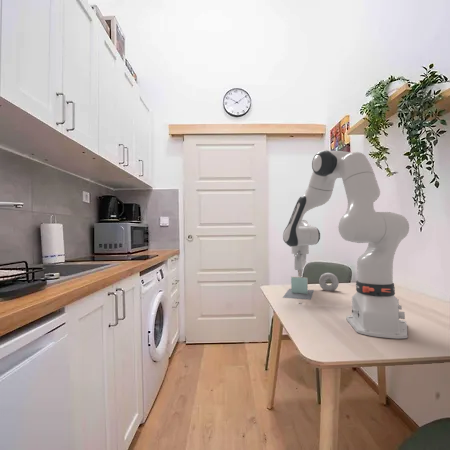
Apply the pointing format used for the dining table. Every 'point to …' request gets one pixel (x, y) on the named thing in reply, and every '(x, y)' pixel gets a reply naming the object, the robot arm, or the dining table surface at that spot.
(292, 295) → the mat
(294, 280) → the tile
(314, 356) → the dining table surface
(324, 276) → the donut
